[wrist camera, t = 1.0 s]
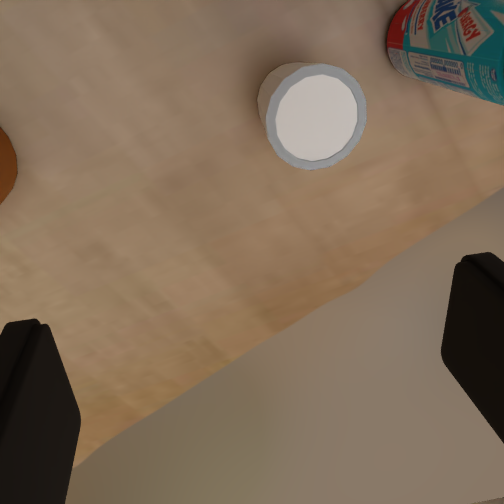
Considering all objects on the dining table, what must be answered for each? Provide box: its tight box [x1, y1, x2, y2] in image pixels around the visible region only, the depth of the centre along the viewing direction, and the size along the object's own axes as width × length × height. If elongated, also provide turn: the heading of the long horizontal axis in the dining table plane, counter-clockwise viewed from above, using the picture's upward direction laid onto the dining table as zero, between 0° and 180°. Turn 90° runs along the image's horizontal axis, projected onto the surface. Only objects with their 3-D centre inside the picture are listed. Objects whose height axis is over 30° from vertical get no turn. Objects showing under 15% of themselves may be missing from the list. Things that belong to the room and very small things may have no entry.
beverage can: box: [386, 0, 504, 105], centre depth 29 cm, size 6×6×15 cm
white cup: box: [257, 62, 367, 170], centre depth 33 cm, size 7×7×7 cm
